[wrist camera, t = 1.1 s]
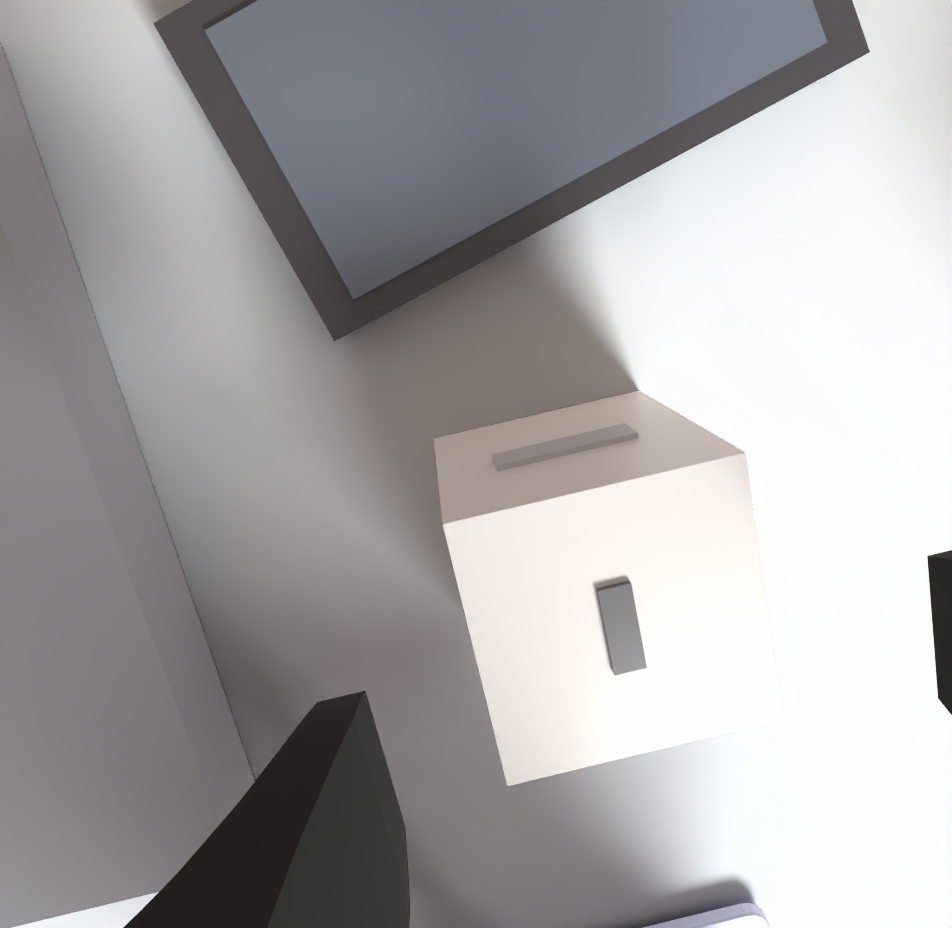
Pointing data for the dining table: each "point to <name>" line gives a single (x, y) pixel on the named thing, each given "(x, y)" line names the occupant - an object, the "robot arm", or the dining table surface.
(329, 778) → the robot arm
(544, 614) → the brick
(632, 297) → the dining table surface
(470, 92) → the tablet with stylus
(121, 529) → the socket plate
